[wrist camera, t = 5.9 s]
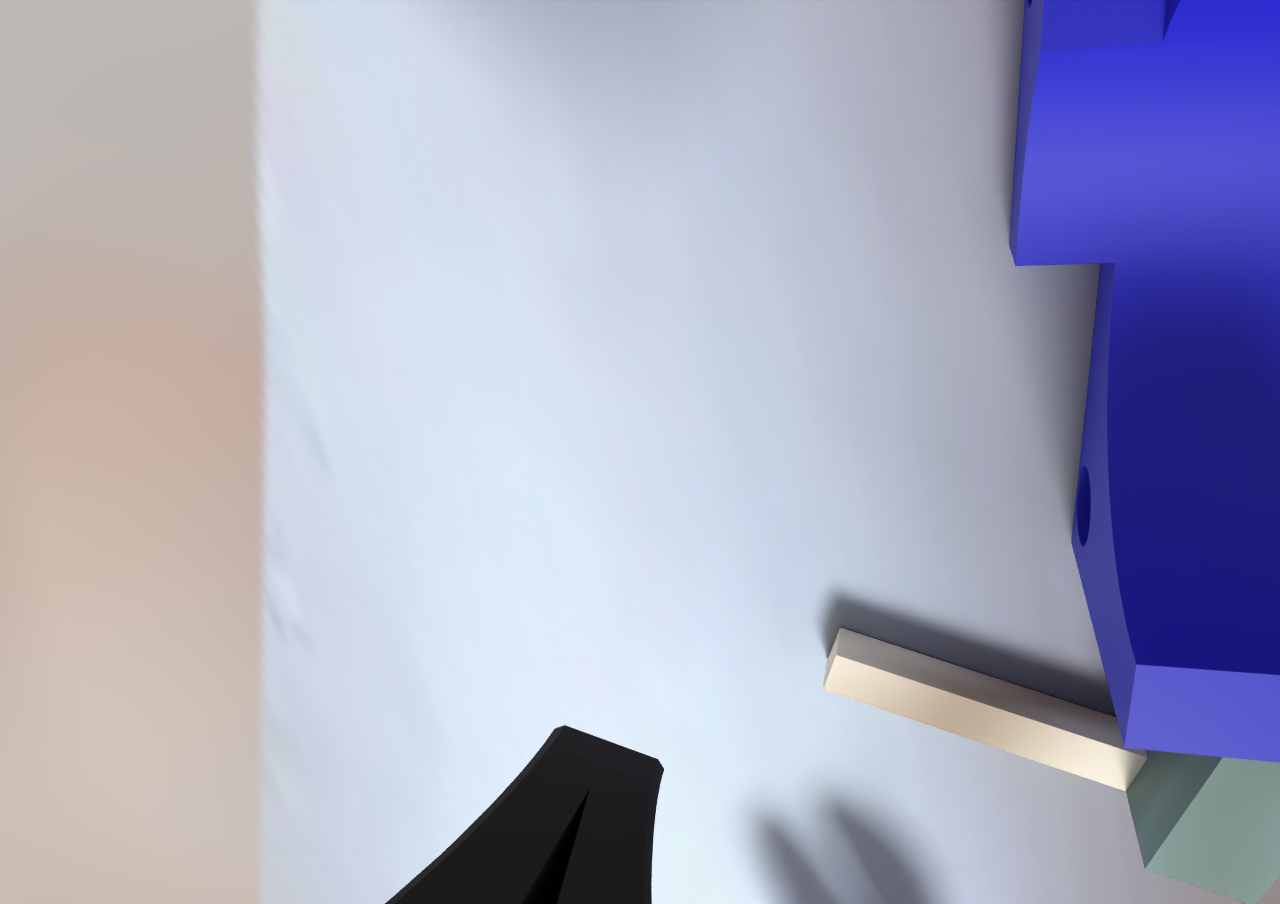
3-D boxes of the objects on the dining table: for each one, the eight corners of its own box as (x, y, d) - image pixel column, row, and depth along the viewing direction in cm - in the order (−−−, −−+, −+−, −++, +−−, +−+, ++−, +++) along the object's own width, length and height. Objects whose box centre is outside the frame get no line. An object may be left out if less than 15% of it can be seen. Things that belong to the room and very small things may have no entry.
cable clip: (1032, -149, 14) (1091, -218, 9) (1381, -199, 13) (1674, -312, 8) (991, 535, 20) (1014, 737, 14) (1240, 545, 18) (1364, 770, 13)
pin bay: (1917, -208, 12) (2492, -314, 7) (1212, 788, 20) (1289, 1006, 16) (1208, -330, 13) (1350, -485, 9) (827, 661, 22) (802, 832, 17)
